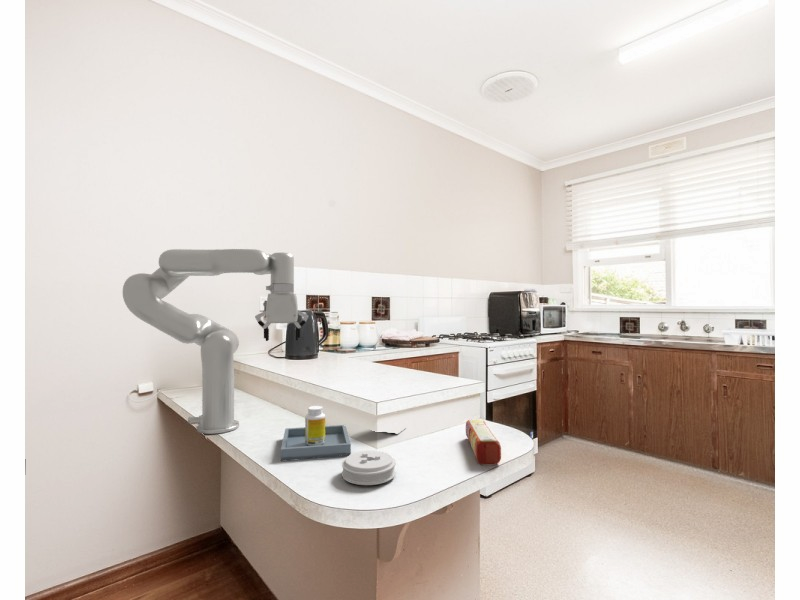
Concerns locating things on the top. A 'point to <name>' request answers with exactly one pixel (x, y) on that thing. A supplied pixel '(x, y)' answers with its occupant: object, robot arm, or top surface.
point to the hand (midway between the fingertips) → (282, 340)
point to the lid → (368, 468)
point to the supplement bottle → (315, 426)
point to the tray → (333, 445)
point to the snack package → (483, 442)
